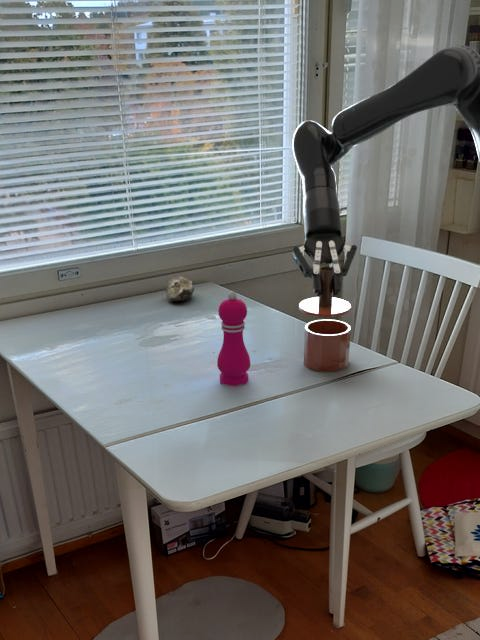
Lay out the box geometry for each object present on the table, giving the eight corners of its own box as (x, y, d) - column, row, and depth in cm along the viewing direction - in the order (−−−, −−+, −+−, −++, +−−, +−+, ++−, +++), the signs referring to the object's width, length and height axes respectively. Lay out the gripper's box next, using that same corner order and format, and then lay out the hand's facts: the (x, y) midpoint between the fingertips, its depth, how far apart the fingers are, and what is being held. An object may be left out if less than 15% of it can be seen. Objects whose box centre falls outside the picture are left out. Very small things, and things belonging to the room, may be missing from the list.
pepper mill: (256, 379, 173) (256, 289, 162) (238, 391, 168) (237, 299, 157) (229, 373, 176) (227, 284, 165) (211, 384, 171) (207, 293, 160)
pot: (347, 355, 184) (350, 319, 179) (348, 372, 176) (351, 336, 171) (304, 354, 185) (305, 319, 180) (303, 371, 177) (304, 335, 172)
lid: (350, 302, 167) (353, 261, 162) (351, 320, 158) (354, 277, 153) (299, 301, 168) (301, 260, 163) (298, 319, 159) (299, 276, 154)
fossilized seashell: (187, 297, 213) (203, 292, 221) (176, 273, 212) (193, 270, 220) (166, 308, 217) (183, 303, 225) (155, 286, 216) (173, 282, 224)
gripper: (289, 206, 158) (295, 286, 155) (358, 204, 158) (365, 284, 155) (286, 227, 165) (291, 303, 162) (352, 225, 166) (358, 301, 163)
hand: (327, 293), depth 159 cm, fingers closed on lid, 3 cm apart
